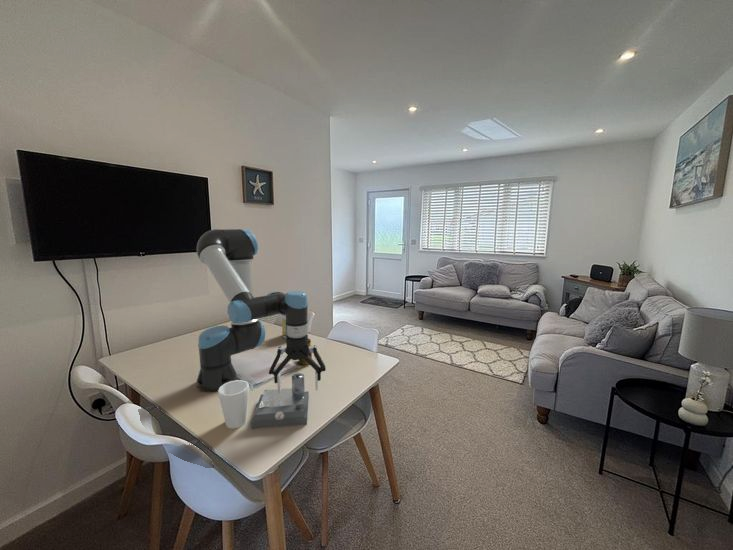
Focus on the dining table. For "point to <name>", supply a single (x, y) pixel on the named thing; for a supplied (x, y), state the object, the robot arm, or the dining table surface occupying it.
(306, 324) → the robot arm
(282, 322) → the supplement tub
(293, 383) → the cylinder
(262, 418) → the scale base
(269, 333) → the dining table surface
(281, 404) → the scale weighing pan
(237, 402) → the foam cup
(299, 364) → the condiment
